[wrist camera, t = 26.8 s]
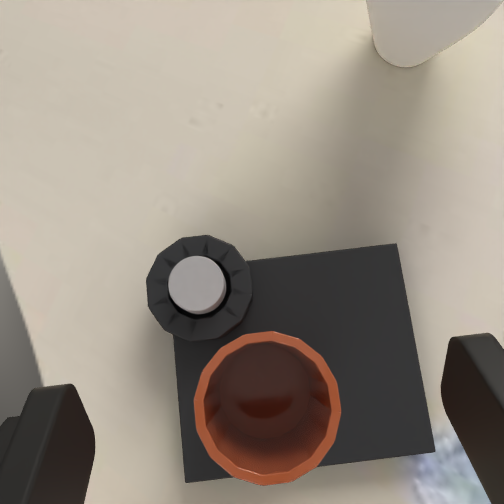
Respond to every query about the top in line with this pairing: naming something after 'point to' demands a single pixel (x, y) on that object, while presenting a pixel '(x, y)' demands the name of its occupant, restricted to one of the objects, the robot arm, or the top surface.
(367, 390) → the scale
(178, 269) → the button
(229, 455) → the cup
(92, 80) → the top surface
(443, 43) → the mug
